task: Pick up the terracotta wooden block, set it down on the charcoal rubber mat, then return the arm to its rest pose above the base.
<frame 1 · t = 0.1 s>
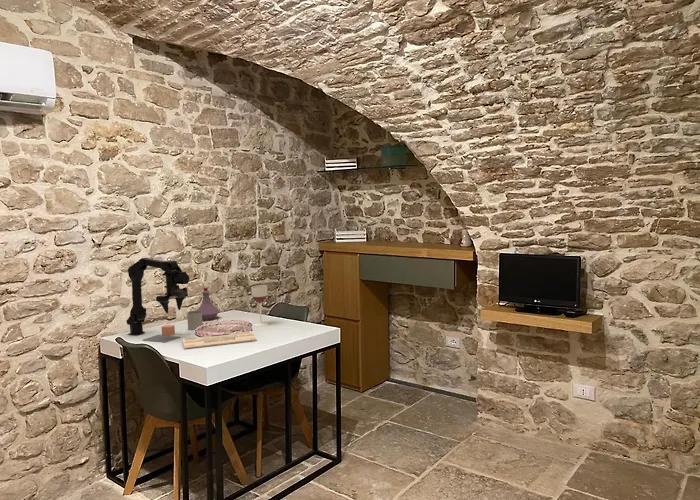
hand: (173, 311, 306), 14 cm above the table, tool pointing down, fingers open, 9 cm apart
block: (168, 334, 314), on the table
cup: (195, 329, 326), on the table
mat: (161, 338, 305), on the table
wineglass: (261, 324, 332), on the table
wooden board: (219, 343, 294), on the table
flask: (207, 319, 353), on the table
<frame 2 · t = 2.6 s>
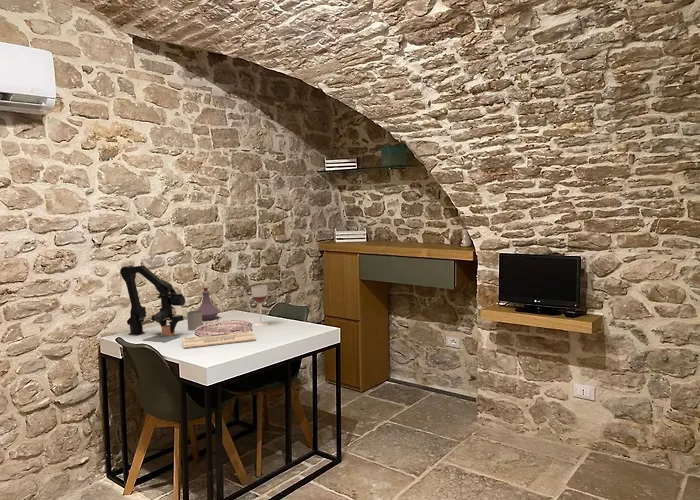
hand: (168, 332, 314), 1 cm above the table, tool pointing down, fingers closed on block, 5 cm apart
block: (168, 334, 314), on the table, touching gripper
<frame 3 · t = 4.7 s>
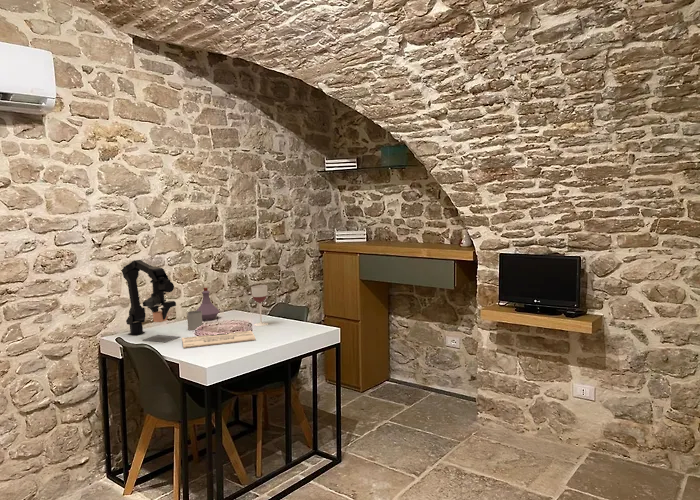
hand: (160, 319, 304), 11 cm above the table, tool pointing down, fingers closed on block, 5 cm apart
block: (160, 321, 304), point 10 cm above the table, touching gripper
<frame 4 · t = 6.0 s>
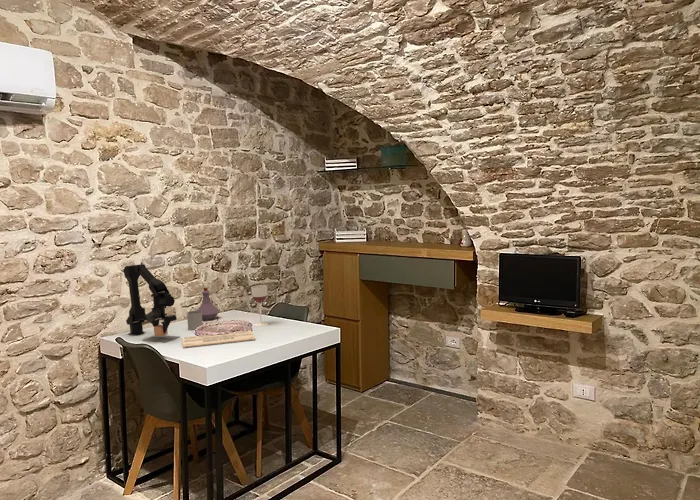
hand: (160, 333, 304), 3 cm above the table, tool pointing down, fingers closed on block, 5 cm apart
block: (161, 334, 304), point 2 cm above the table, touching gripper
when the fingers open (2 cm above the table, at t = 7.0 s): block stays where it is, resting on mat.
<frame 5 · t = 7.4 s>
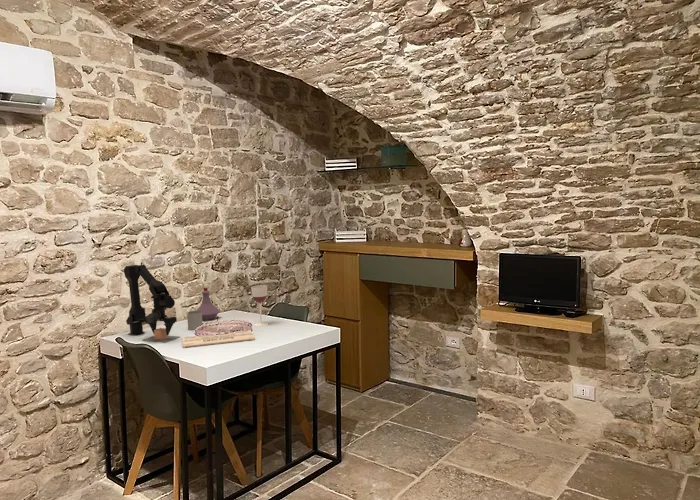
hand: (161, 334, 304), 2 cm above the table, tool pointing down, fingers open, 9 cm apart
block: (161, 338, 305), resting on mat
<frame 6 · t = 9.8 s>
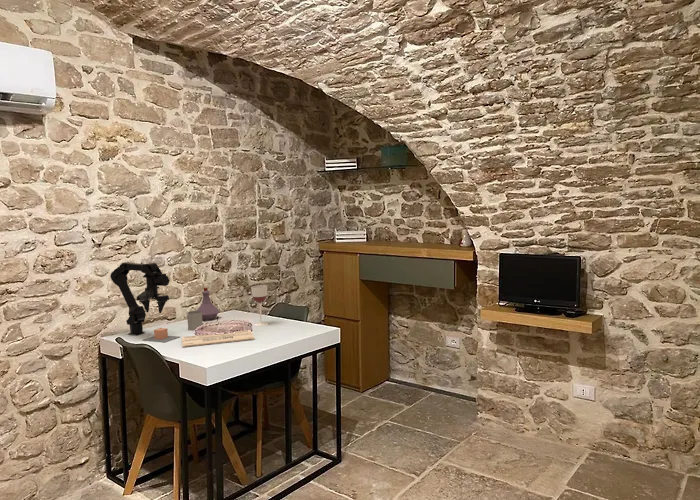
hand: (153, 312, 312), 13 cm above the table, tool pointing down, fingers open, 9 cm apart
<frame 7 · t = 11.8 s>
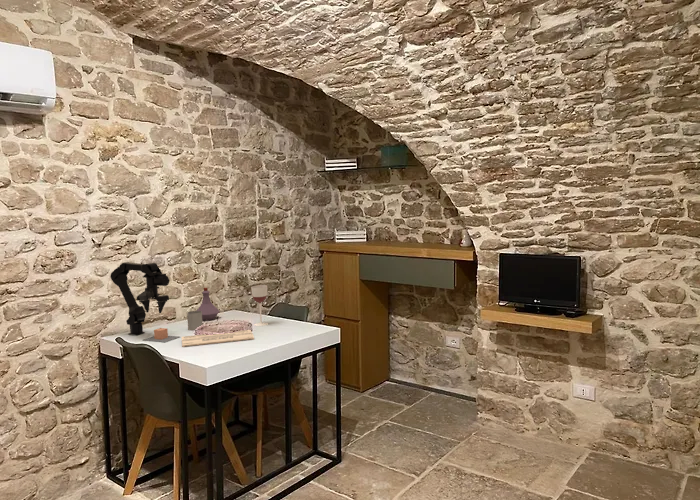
hand: (153, 312, 312), 13 cm above the table, tool pointing down, fingers open, 9 cm apart
at the end: block inside the target area on the mat (0.0 cm from its centre), point 0.3 cm above the mat's base; block tilted 0°; the gripper is holding nothing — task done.
